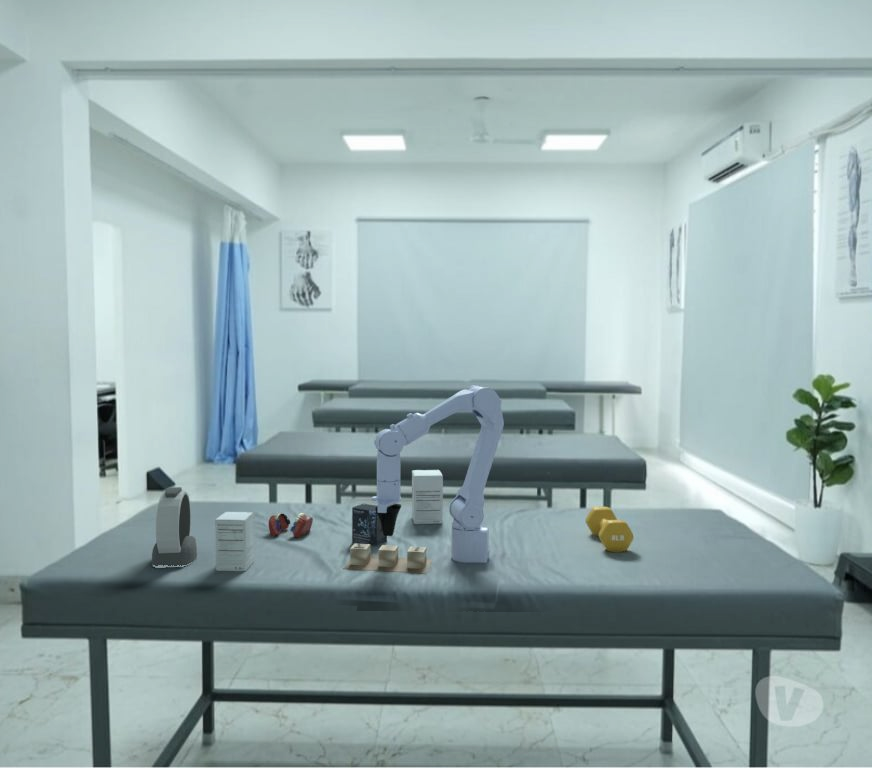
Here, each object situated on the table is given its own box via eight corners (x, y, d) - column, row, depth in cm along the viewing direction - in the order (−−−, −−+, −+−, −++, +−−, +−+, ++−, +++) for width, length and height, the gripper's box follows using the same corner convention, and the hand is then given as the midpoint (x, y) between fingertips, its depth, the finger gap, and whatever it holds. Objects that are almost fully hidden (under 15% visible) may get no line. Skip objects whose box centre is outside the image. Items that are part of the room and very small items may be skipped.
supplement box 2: (411, 517, 212) (411, 469, 211) (439, 516, 213) (439, 469, 212) (413, 524, 203) (413, 475, 202) (443, 524, 204) (443, 475, 203)
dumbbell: (584, 533, 196) (584, 505, 195) (615, 533, 196) (615, 505, 195) (600, 553, 177) (601, 522, 176) (634, 553, 177) (635, 523, 177)
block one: (426, 563, 165) (426, 546, 164) (423, 568, 161) (423, 551, 160) (410, 562, 165) (410, 545, 165) (407, 567, 161) (407, 550, 161)
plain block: (398, 561, 166) (398, 545, 165) (394, 567, 162) (394, 550, 162) (382, 560, 166) (382, 544, 166) (378, 566, 162) (378, 549, 162)
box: (351, 546, 182) (351, 507, 181) (363, 540, 187) (363, 502, 186) (375, 550, 178) (375, 511, 177) (387, 545, 183) (387, 506, 182)
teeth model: (277, 507, 198) (315, 510, 196) (277, 528, 199) (316, 531, 196) (264, 515, 190) (304, 518, 187) (264, 537, 191) (304, 540, 188)
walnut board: (432, 563, 168) (432, 559, 167) (425, 577, 158) (425, 573, 158) (354, 559, 170) (354, 555, 170) (342, 572, 161) (342, 568, 161)
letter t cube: (370, 560, 167) (370, 543, 166) (366, 565, 163) (366, 548, 163) (354, 559, 167) (354, 543, 167) (350, 564, 163) (350, 547, 163)
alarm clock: (189, 569, 162) (188, 494, 161) (144, 571, 160) (143, 495, 159) (201, 549, 178) (200, 480, 177) (161, 551, 176) (159, 481, 175)
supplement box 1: (225, 561, 168) (224, 511, 168) (255, 561, 168) (254, 511, 167) (215, 571, 161) (214, 519, 160) (245, 571, 161) (245, 519, 160)
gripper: (379, 473, 170) (379, 526, 171) (364, 485, 156) (364, 542, 157) (406, 474, 169) (406, 527, 170) (394, 486, 155) (394, 544, 156)
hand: (388, 535), depth 164 cm, fingers closed
